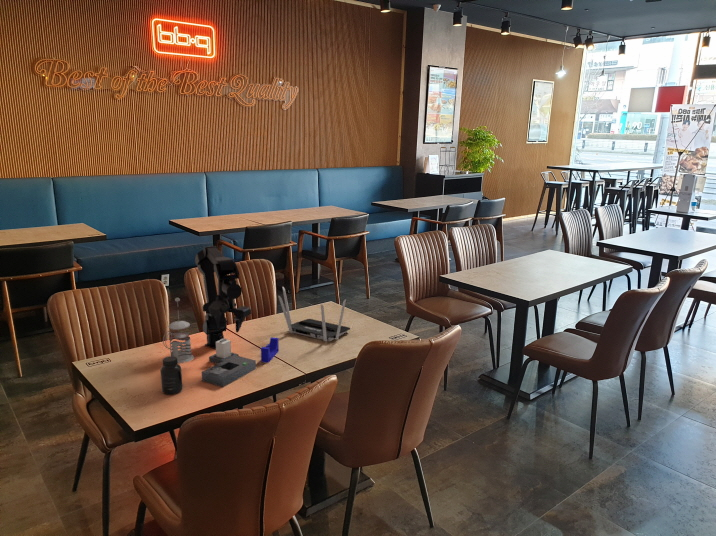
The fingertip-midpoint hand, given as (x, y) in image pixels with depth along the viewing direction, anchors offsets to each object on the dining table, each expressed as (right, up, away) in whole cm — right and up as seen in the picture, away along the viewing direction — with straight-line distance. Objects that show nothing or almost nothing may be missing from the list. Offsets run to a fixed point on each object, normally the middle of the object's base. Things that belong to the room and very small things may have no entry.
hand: (227, 330), depth 216 cm
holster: (-2, -12, +3) cm, 13 cm away
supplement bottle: (-14, -19, -23) cm, 33 cm away
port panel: (+3, -15, -10) cm, 19 cm away
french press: (-20, -12, +3) cm, 23 cm away
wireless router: (+32, -6, +31) cm, 45 cm away
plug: (-2, -12, +3) cm, 13 cm away
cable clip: (+15, -12, +7) cm, 20 cm away
